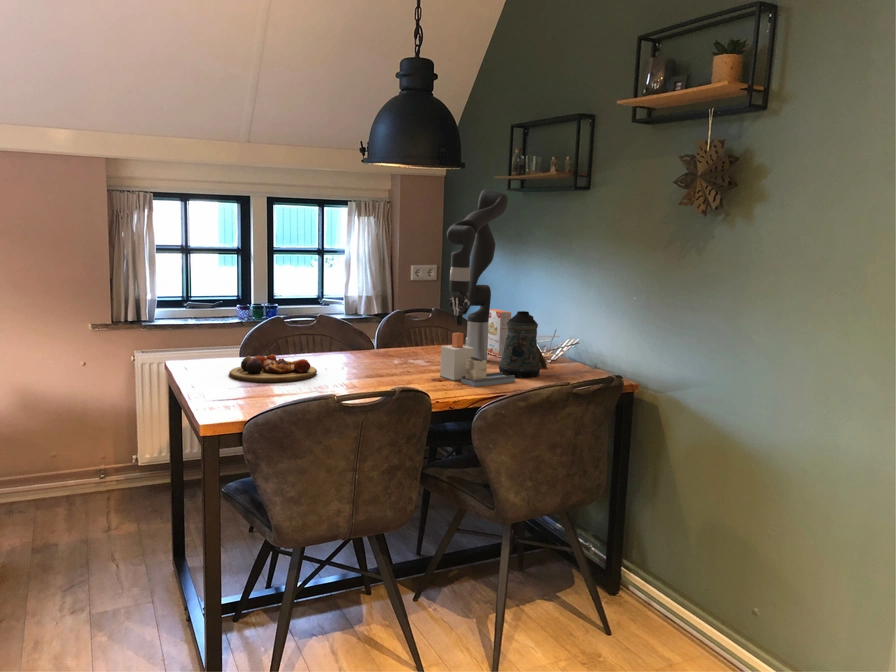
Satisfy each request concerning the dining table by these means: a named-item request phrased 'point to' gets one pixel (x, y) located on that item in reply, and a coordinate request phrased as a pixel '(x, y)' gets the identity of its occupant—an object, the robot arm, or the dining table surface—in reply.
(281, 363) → the wooden plate with food
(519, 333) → the beer stein
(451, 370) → the light grey hollow box
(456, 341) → the orange dimpled block
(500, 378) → the rail
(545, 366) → the rock
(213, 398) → the dining table surface
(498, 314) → the cracker box
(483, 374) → the carriage
